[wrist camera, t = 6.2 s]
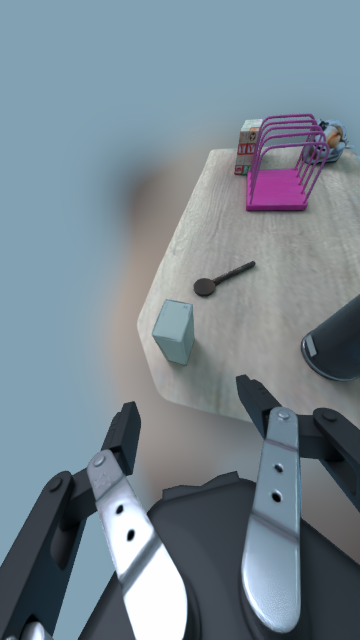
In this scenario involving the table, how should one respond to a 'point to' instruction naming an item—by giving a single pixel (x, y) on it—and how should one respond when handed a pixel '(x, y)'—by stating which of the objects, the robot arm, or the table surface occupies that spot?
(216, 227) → the table surface
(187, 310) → the cosmetic box
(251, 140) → the stack of blocks
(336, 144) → the lucky cat figurine
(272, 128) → the file sorter
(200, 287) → the spoon
